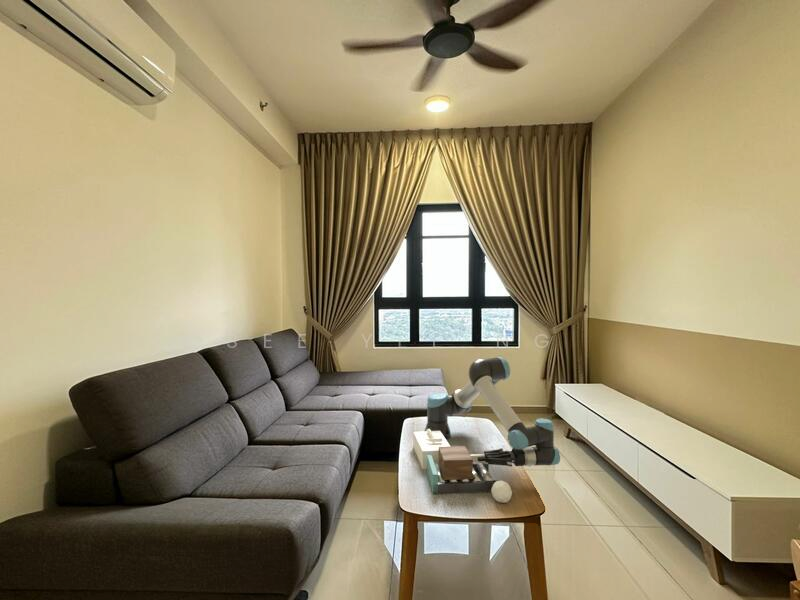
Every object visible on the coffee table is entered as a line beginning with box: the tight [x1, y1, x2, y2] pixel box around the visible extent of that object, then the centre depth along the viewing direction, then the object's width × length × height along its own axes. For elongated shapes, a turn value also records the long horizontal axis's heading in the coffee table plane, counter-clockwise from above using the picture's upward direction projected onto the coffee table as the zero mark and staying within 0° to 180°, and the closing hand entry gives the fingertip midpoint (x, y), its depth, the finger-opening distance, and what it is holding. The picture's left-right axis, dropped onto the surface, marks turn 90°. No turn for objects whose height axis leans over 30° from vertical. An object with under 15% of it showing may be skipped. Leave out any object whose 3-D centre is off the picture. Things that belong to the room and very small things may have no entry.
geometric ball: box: [490, 480, 513, 504], centre depth 143 cm, size 8×8×8 cm
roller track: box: [426, 462, 501, 495], centre depth 159 cm, size 19×28×4 cm, turn 93°
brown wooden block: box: [439, 445, 473, 481], centre depth 158 cm, size 14×12×8 cm
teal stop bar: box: [426, 455, 439, 495], centre depth 158 cm, size 19×2×8 cm, turn 3°
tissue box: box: [413, 429, 451, 470], centre depth 184 cm, size 14×25×11 cm, turn 8°
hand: (469, 458), depth 158 cm, fingers closed
